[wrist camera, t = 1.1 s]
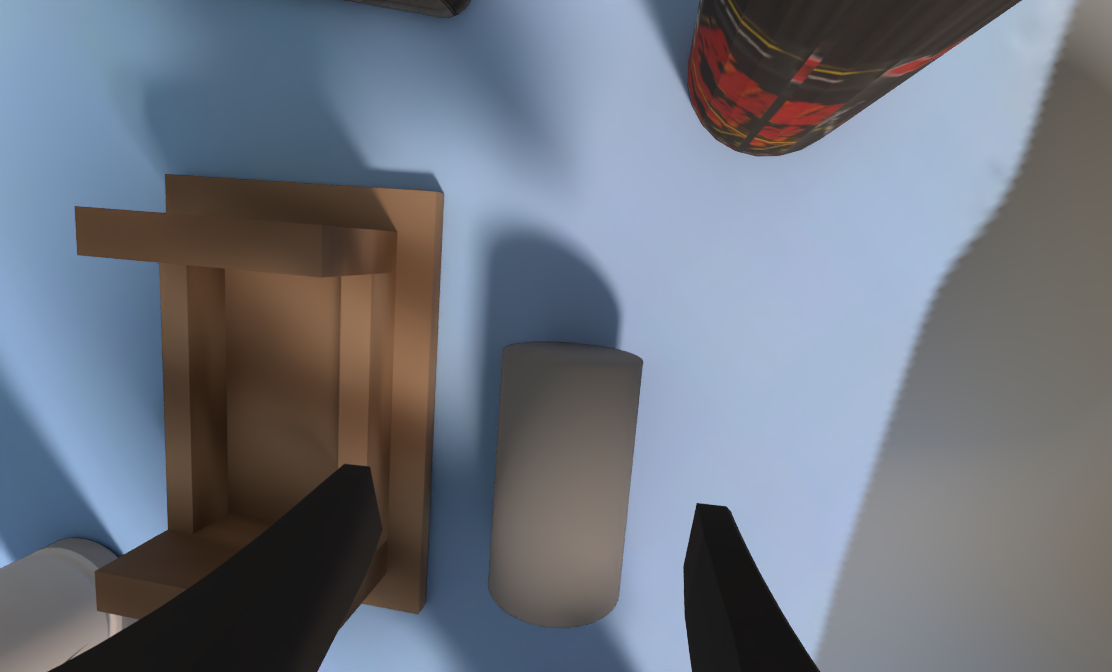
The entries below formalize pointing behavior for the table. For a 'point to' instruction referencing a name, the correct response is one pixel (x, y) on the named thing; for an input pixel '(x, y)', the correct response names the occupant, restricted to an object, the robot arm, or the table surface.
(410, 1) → the phone
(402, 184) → the table surface
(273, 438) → the cradle
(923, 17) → the deodorant
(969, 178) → the table surface
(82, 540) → the travel mug
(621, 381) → the roll
